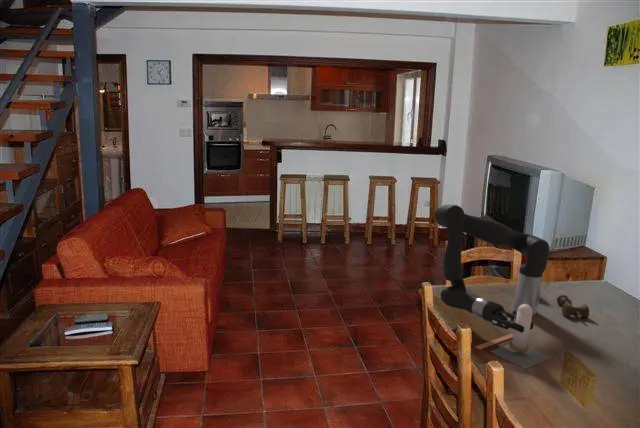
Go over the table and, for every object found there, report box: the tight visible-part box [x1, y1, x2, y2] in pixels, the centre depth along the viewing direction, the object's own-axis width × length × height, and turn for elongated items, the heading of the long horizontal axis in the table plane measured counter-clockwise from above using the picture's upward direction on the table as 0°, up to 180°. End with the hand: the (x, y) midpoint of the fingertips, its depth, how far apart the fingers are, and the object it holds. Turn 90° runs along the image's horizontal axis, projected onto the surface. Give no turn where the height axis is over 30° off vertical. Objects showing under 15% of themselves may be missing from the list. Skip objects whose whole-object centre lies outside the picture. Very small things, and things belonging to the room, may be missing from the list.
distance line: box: [475, 333, 513, 350], centre depth 195 cm, size 22×2×1 cm, turn 126°
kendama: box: [556, 294, 590, 320], centre depth 227 cm, size 6×10×20 cm
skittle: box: [509, 304, 533, 352], centre depth 184 cm, size 6×6×16 cm
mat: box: [490, 343, 553, 370], centre depth 186 cm, size 16×14×1 cm
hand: (527, 328), depth 183 cm, fingers closed on skittle, 5 cm apart
